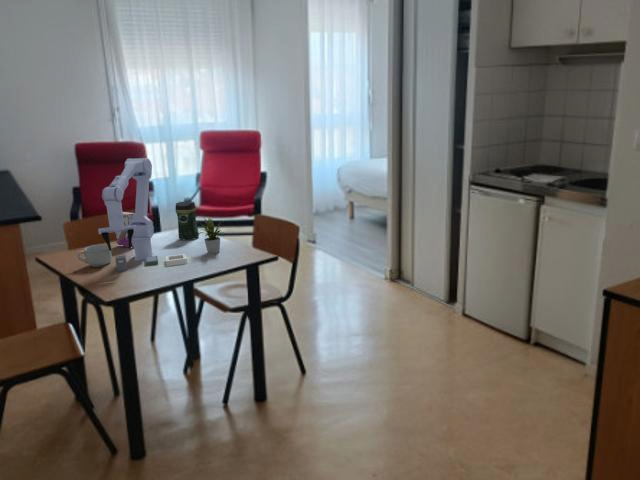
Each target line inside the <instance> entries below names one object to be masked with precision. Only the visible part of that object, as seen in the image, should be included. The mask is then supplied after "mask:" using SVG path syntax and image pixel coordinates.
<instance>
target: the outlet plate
mask: <svg viewBox="0 0 640 480" xmlns="http://www.w3.org/2000/svg"><path fill="white" fill-rule="evenodd" d="M164 257H165V258H160V259H158V265H151V266H146V262H145V260H141V267H142V268H141V269H142V270H151V269H157V268H165V267H172V266H173V267H174V266H182V265H188V264H192V263H193V262H192V260H191V257H190V255H186V253H181V254H172V255H165V256H164Z"/></svg>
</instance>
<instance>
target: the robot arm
mask: <svg viewBox="0 0 640 480" xmlns="http://www.w3.org/2000/svg"><path fill="white" fill-rule="evenodd" d="M152 173H153V164H152V161H151V160H150V159H149V157H142V158H141V157H140V158H130V157H129V158H127V159H126V160H125V162H124V169H123V171H122V172H121V174H120V175H115V177H114V179H113V180H112V182H110V184H109V185H108V186H106V187H104V188H103V189H102V191H101V193H102V194H101V199H102V201H104V205H105V206H106V211H107V212H106V213H107V219H108V224H109V226H107V227H103V228H102V227H101V228H98V229H97V232H98V235H101V237H102V239H103V240H104V242H105V243H106V245H108V248H109V251H111V252H112V246H111V241H110V234H112V233H115V232H120V231H127V234H128V240H129V248H128V249H132V248H131V240H133V241H134V248H133V249H134V261H145V257H151V256H154V253H153V249H152V240H151V239H152V238H153V236H154V232H155V231H154V230H155V229H154V222H153V221H152V220H151V219H150V218H149V217H148V209H149V208H148V207H149V206H148V205H149V192H150V191H149V189H150V187H149V186H150V179H151V178H152ZM131 178H132V179H134V180H135V181H136V189H135V190H136V195H135V207H134V211H135V217H134V218H133V219H131V220H130V223H129V225H124V219H123V212H124V211H123V207H122V206H123V205H122V204H123V203H122V200H123V199H124V194H125V190H126V189H127V187H128V186H129V183H130V182H129V180H130V179H131ZM109 233H110V234H109Z"/></svg>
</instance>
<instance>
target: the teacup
mask: <svg viewBox="0 0 640 480" xmlns="http://www.w3.org/2000/svg"><path fill="white" fill-rule="evenodd" d="M81 254H83V255H84V257H85V258H82V257H80V255H81ZM112 255H113V254H112V250H111V251H109V248H108V245H107V244H92V245H89V246H86V247H85V248H84V250H79V251H78V252H77V254H76V257H77V259H78V260H79V261H81V262H84V263H85V264H88V265H89V266H91V267H93V268H102V267H104V266H106V265H108V264H110V262H111V261H112V258H113V257H112Z"/></svg>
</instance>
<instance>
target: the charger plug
mask: <svg viewBox="0 0 640 480" xmlns="http://www.w3.org/2000/svg"><path fill="white" fill-rule="evenodd" d="M114 260H115V261H114V262H115V265H116V266H115V267H116V271H117V272H123V271H128V264H127V256H126V255H118V256H117V255H116V256H115V259H114Z"/></svg>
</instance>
